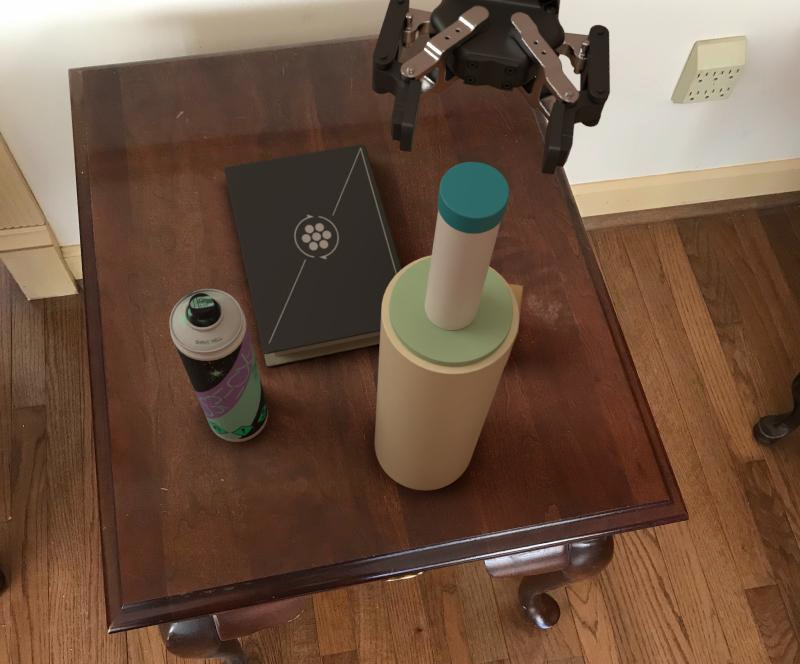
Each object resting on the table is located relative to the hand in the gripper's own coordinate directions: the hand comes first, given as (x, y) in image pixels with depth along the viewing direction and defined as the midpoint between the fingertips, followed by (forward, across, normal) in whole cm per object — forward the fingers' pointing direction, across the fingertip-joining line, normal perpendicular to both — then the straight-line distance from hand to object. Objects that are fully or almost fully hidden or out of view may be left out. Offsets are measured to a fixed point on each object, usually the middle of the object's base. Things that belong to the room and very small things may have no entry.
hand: (478, 153), depth 49 cm
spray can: (+6, -17, +33) cm, 38 cm away
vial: (+6, 0, +2) cm, 6 cm away
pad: (+6, 0, +9) cm, 10 cm away
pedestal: (+6, 0, +33) cm, 33 cm away
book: (-12, -13, +33) cm, 37 cm away
